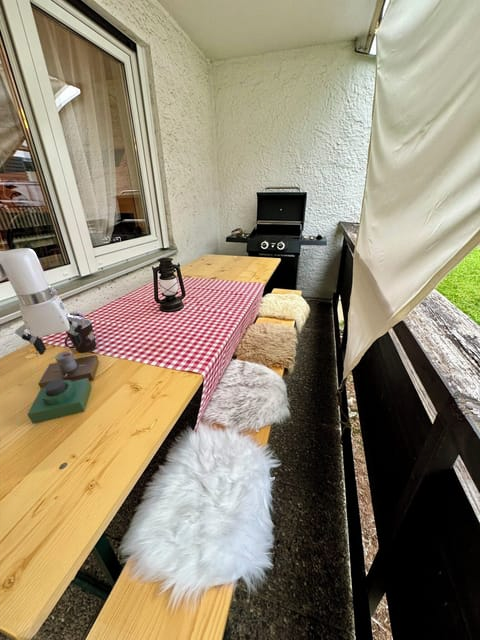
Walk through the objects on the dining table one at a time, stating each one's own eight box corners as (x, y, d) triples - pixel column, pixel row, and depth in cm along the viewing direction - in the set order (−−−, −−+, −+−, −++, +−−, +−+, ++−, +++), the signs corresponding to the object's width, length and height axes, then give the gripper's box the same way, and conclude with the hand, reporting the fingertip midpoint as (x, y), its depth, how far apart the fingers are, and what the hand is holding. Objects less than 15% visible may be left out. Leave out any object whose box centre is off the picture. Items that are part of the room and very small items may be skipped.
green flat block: (33, 424, 66) (23, 408, 63) (46, 396, 74) (38, 382, 72) (84, 411, 69) (77, 396, 66) (91, 386, 77) (85, 372, 75)
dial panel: (42, 391, 77) (37, 383, 75) (53, 371, 85) (49, 363, 84) (93, 380, 80) (90, 372, 78) (99, 361, 88) (96, 354, 87)
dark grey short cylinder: (45, 398, 67) (42, 392, 66) (51, 386, 71) (48, 381, 70) (64, 393, 68) (61, 388, 67) (69, 383, 72) (66, 377, 71)
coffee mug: (91, 339, 101) (82, 317, 97) (104, 345, 97) (96, 322, 93) (60, 355, 93) (49, 331, 88) (74, 362, 89) (63, 337, 84)
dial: (59, 374, 79) (52, 360, 76) (63, 365, 82) (57, 351, 80) (75, 370, 80) (69, 356, 77) (78, 362, 83) (72, 348, 81)
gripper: (75, 286, 75) (95, 336, 83) (5, 296, 71) (33, 348, 79) (68, 295, 68) (90, 349, 76) (-9, 307, 64) (23, 362, 72)
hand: (61, 348), depth 78 cm, fingers open, 9 cm apart
